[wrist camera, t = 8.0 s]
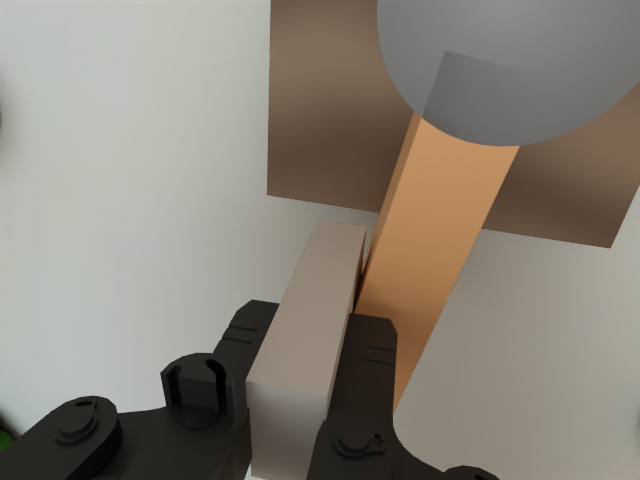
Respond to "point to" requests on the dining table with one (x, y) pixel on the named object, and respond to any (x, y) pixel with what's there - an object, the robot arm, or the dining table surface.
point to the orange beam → (477, 130)
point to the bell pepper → (5, 440)
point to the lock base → (393, 122)
